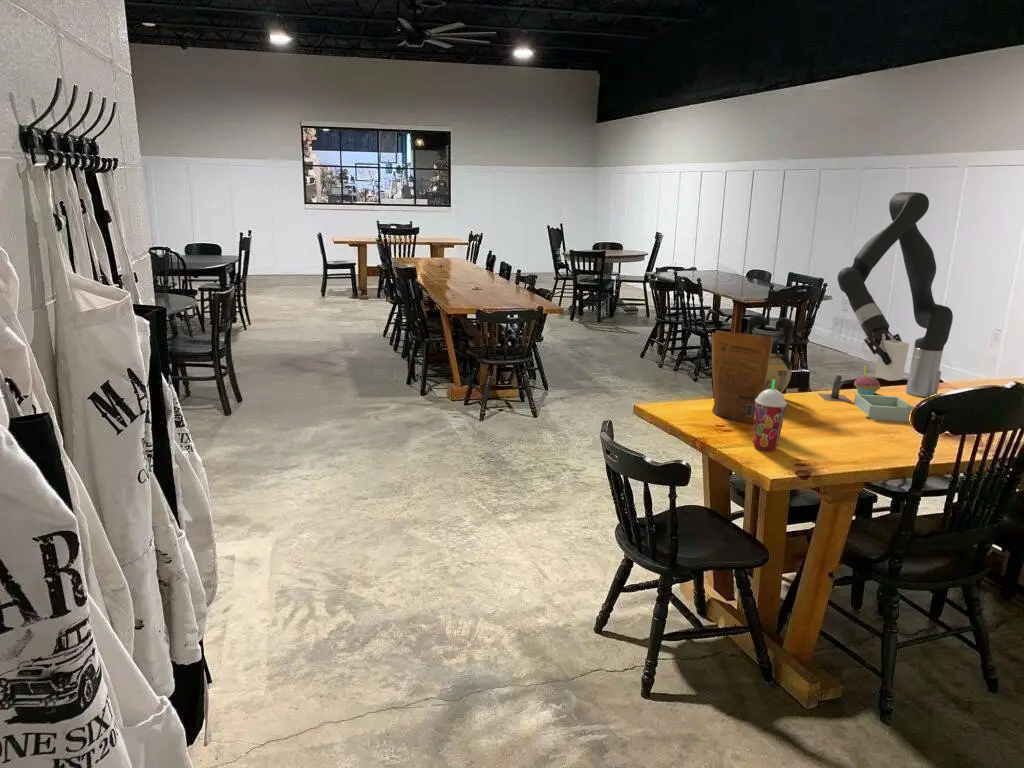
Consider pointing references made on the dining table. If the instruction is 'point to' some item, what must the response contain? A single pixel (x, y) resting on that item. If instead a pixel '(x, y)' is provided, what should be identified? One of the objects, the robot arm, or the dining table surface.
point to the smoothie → (768, 419)
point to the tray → (883, 407)
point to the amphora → (775, 349)
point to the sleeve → (893, 360)
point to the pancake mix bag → (738, 373)
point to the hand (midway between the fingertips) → (896, 363)
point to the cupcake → (866, 385)
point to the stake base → (828, 398)
